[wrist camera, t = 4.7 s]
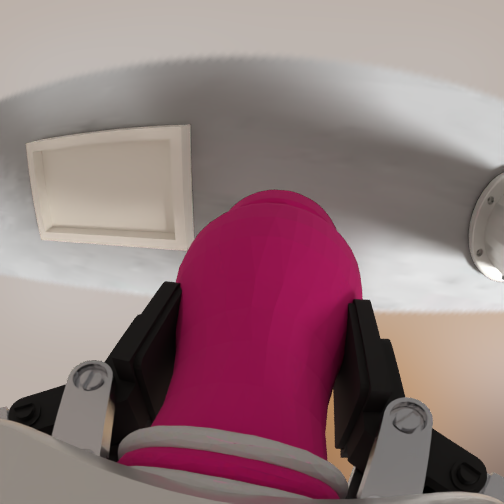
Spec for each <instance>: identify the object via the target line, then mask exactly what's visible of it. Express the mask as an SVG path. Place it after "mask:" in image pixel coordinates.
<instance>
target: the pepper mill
mask: <svg viewBox="0 0 504 504" xmlns="http://www.w3.org/2000/svg"><path fill="white" fill-rule="evenodd" d="M176 283H181V284H180V287H181V289H182V295H181V300H180V306H179V313H178V319H177V326H176V355H175V362H174V370H173V376H172V379H171V382H170V385H169V388H168V391H167V395H166V398H165V401H164V404H163V406H162V407H161V409H160V411H159V413H158V414H157V416H156V418H155V420H154V422H153V423H152V425H151V427H148V428H143V429H139V430H136V431H134V432H132V433H130V434H129V435H127V436H126V437H125V438H124V439H123V440H122V441H121V443H120V444H119V448H118V459H119V461H118V462H117V463H120V464H123V465H126V466H129V467H132V468H135V469H138V470H141V471H145V472H148V473H151V474H155V475H159V476H162V477H166V478H169V479H172V480H175V481H178V482H182V483H185V484H188V485H192V486H196V487H201V488H205V489H210V490H216V491H222V492H230V493H238V494H252V495H264V496H274V497H286V498H302V499H345V498H346V496H347V493H348V483H347V481H346V479H345V477H344V476H343V474H342V473H341V472H340V471H339V470H338V469H337V468H336V467H335V466H334V465H333V464H331V463H330V462H328V461H327V451H326V450H327V449H326V438H325V430H326V420H327V409H328V404H329V401H330V397H331V394H332V390H333V387H334V383H335V380H336V378H337V375H338V373H339V370H340V367H341V365H342V362H343V357H344V349H345V340H346V331H347V319H348V304H349V303H353V299H362V286H361V278H360V272H359V268H358V264H357V261H356V259H355V257H354V255H353V252H352V250H351V249H350V247H349V246H348V244H347V243H346V241H345V240H344V238H343V237H342V236H341V235H340V234H339V233H338V232H337V230H336V228H335V226H334V224H333V222H332V220H331V219H330V217H329V216H328V214H327V213H326V212H325V211H324V209H323V208H321V207H320V206H319V205H318V204H317V203H315V202H314V201H313V200H311V199H309V198H307V197H305V196H303V195H301V194H299V193H295V192H291V191H285V190H266V191H261V192H257V193H255V194H252V195H249V196H247V197H245V198H244V199H242V200H241V201H239V202H238V203H237V204H235V205H234V206H233V207H232V208H231V209H230V210H229V212H226V213H224V214H223V215H221V216H219V217H218V218H216V219H215V220H213V221H212V222H210V223H209V224H208V225H207V226H206V227H205V228H204V229H203V230H202V231H201V232H200V233H199V234H198V235H197V237H196V238H195V239H194V241H193V242H192V244H191V246H190V247H189V249H188V251H187V253H186V255H185V257H184V259H183V261H182V263H181V265H180V268H179V271H178V275H177V280H176Z"/></svg>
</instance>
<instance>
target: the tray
mask: <svg viewBox="0 0 504 504" xmlns="http://www.w3.org/2000/svg"><path fill="white" fill-rule="evenodd" d="M26 150H27V160H28V168H29V176H30V183H31V190H32V196H33V202H34V207H35V213H36V218H37V223H38V228H39V232H40V237H41V240H49V241H62V242H75V243H88V244H101V245H114V246H128V247H141V248H155V249H168V250H182V251H187V250H188V248H189V247H190V245H191V244H192V242H193V241H194V223H193V201H192V174H191V124H188V125H164V126H148V127H135V128H123V129H113V130H103V131H95V132H87V133H79V134H72V135H65V136H59V137H53V138H47V139H41V140H37V141H33V142H30V143H26Z"/></svg>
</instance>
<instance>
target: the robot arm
mask: <svg viewBox="0 0 504 504" xmlns="http://www.w3.org/2000/svg"><path fill="white" fill-rule="evenodd" d="M469 248H470V253H471V256H472V259H473V262H474V264H475V265H476V266H477V268H478V269H479V270H480V271H481V273H482V274H483V275H484V276H486V277H487V278H489V279H490V280H493V281H496V282H504V172H503V173H502V174H500V175H498V176H497V177H496V178H495V179H493V180H492V181H491V182H490V183H489V184H488V186H487V187H486V188H485V189H484V191H483V192H482V194H481V196H480V197H479V199H478V201H477V203H476V206H475V208H474V211H473V214H472V218H471V221H470V228H469ZM180 284H181V283H175V282H164V283H163V284H162V285H161V287H160V288H159V290H158V291H157V292H156V294H155V295H154V297H153V298H152V299H151V301H150V302H149V304H148V305H147V307H146V308H145V309H144V311H143V312H142V314H140V315H138V316H137V317H136V318H135V319H134V320H133V322H132V323H131V325H130V326H129V328H128V329H127V330H126V332H125V333H124V335H123V336H122V337H121V339H120V340H119V342H118V343H117V345H116V346H115V348H114V349H113V351H112V352H111V353H110V355H109V356H108V358H107V360H106V361H105V362H102V361H97V360H92V361H86V362H83V363H80V364H79V365H77V366H76V367H75V368H74V369H73V370H72V371H71V373H70V375H69V377H68V380H67V383H66V385H63V386H60V387H57V388H53V389H50V390H47V391H43V392H41V393H37V394H34V395H30V396H27V397H24V398H21V399H19V400H18V401H16V402H15V403H14V404H13V405H12V406H11V408H10V410H9V409H8V408H7V407H3V408H0V504H504V477H502V476H500V475H498V474H496V473H494V472H493V473H492V474H491V475H489V474H487V471H486V467H485V465H484V464H483V462H482V461H481V460H480V459H478V458H477V457H476V456H474V455H473V454H471V453H469V452H468V451H466V450H465V449H463V448H462V447H460V446H459V445H457V444H455V443H454V442H452V441H451V440H449V439H447V438H446V437H445V436H443V435H442V434H440V433H439V432H437V431H436V430H434V429H433V428H432V425H433V420H432V414H431V412H430V410H429V409H428V407H427V406H426V405H425V404H424V403H422V402H420V401H419V400H416V399H413V398H406V397H405V394H404V390H403V386H402V382H401V378H400V374H399V370H398V367H397V362H396V359H395V355H394V351H393V348H392V344H391V342H390V340H389V339H380V336H379V331H378V327H377V323H376V320H375V316H374V312H373V309H372V305H371V302H370V300H363V299H353V303H349V304H348V319H347V331H346V340H345V349H344V357H343V362H342V365H341V367H340V370H339V373H338V375H337V378H336V380H335V383H334V387H333V390H334V392H333V393H334V422H335V423H334V424H335V448H336V449H341V457H342V458H344V457H345V458H348V461H349V462H350V463H351V464H352V465H353V466H354V468H353V470H352V473H351V476H350V479H349V481H348V493H347V496H346V498H345V499H302V498H286V497H274V496H264V495H252V494H238V493H230V492H222V491H216V490H210V489H205V488H201V487H196V486H192V485H188V484H185V483H182V482H178V481H175V480H172V479H169V478H166V477H162V476H159V475H155V474H151V473H148V472H145V471H141V470H138V469H135V468H132V467H129V466H126V465H123V464H120V463H117V462H118V461H119V459H118V448H119V444H120V443H121V441H122V440H123V439H124V438H125V437H126V436H127V435H129V434H130V433H132V432H134V431H136V430H139V429H143V428H148V427H151V425H152V423H153V422H154V420H155V418H156V416H157V414H158V413H159V411H160V409H161V407H162V406H163V404H164V401H165V398H166V395H167V391H168V388H169V385H170V382H171V379H172V376H173V370H174V362H175V355H176V326H177V319H178V313H179V306H180V300H181V295H182V289H181V287H180Z"/></svg>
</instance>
